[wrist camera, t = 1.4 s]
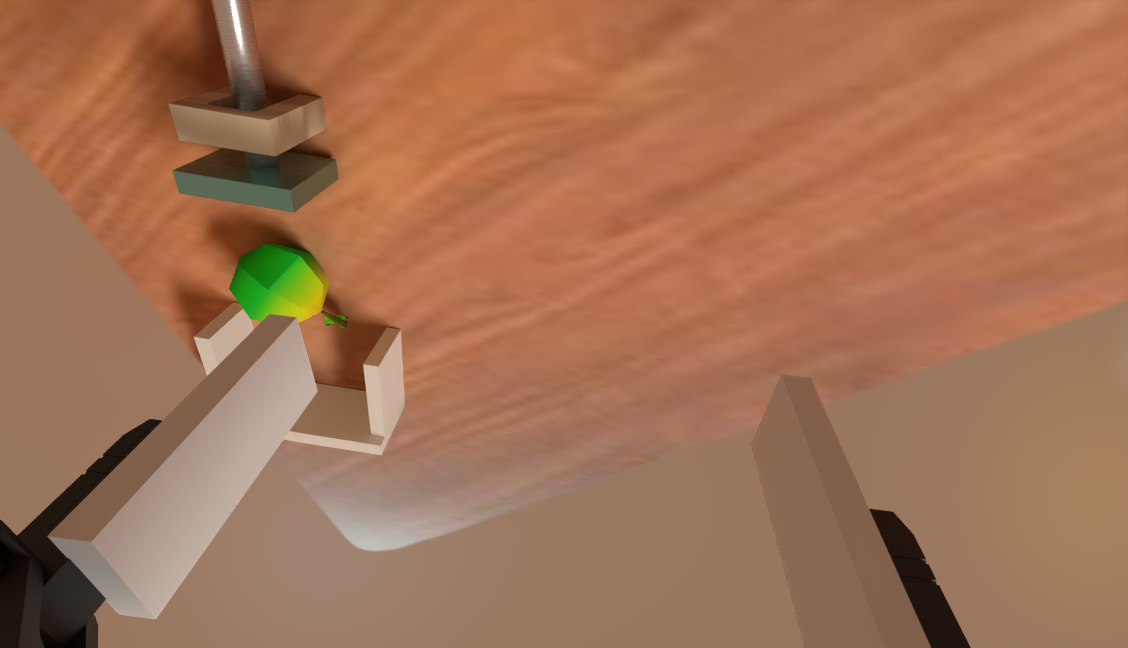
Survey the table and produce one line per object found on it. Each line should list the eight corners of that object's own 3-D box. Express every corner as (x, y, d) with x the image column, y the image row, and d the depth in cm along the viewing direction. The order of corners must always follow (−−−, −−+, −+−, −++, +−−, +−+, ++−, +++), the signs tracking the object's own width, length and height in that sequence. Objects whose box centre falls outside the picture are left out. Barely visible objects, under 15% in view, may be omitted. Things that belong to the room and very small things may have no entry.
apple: (195, 291, 34) (319, 365, 37) (257, 216, 35) (372, 293, 38) (225, 294, 41) (327, 356, 43) (276, 231, 42) (373, 295, 44)
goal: (233, 302, 44) (184, 344, 39) (400, 329, 44) (373, 375, 39) (255, 382, 49) (215, 428, 44) (404, 406, 49) (381, 455, 44)
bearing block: (236, 83, 33) (168, 103, 28) (321, 97, 33) (269, 120, 28) (243, 115, 34) (178, 140, 29) (325, 129, 34) (275, 156, 29)
